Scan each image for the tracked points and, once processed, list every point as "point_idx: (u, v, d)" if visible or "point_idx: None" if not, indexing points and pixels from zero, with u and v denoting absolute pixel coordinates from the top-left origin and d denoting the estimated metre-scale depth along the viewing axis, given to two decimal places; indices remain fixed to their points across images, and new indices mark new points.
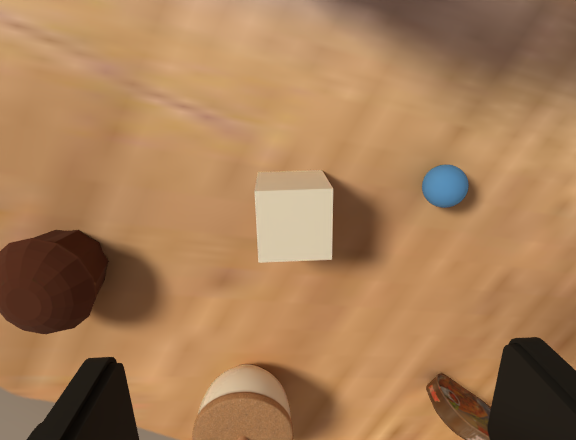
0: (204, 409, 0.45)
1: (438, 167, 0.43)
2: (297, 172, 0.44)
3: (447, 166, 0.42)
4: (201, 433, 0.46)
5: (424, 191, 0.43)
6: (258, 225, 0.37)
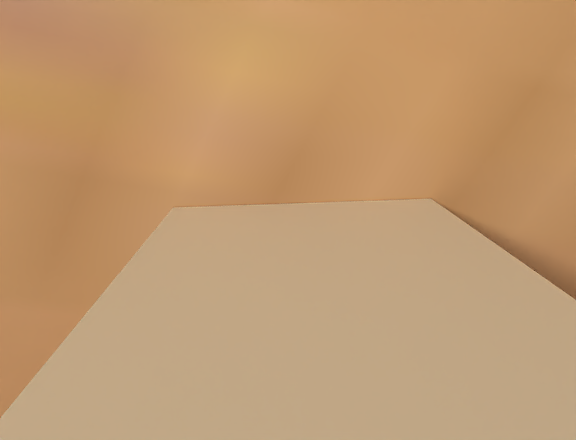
0: None
1: None
2: (337, 212, 0.10)
3: None
4: None
5: None
6: None
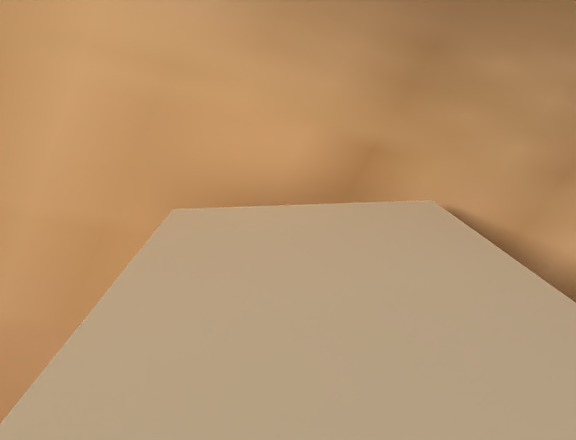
0: None
1: None
2: (338, 214, 0.10)
3: None
4: None
5: None
6: None
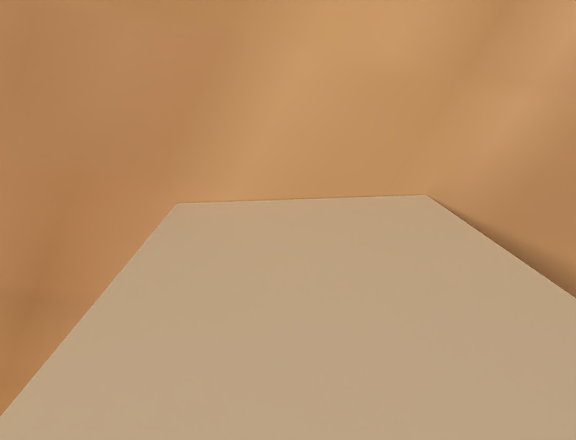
0: None
1: None
2: (335, 207, 0.10)
3: None
4: None
5: None
6: None
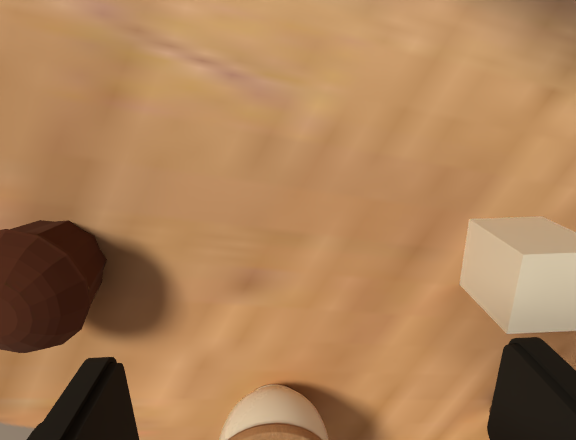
0: None
1: None
2: (519, 220, 0.38)
3: None
4: None
5: None
6: (517, 293, 0.31)
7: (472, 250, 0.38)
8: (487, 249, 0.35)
